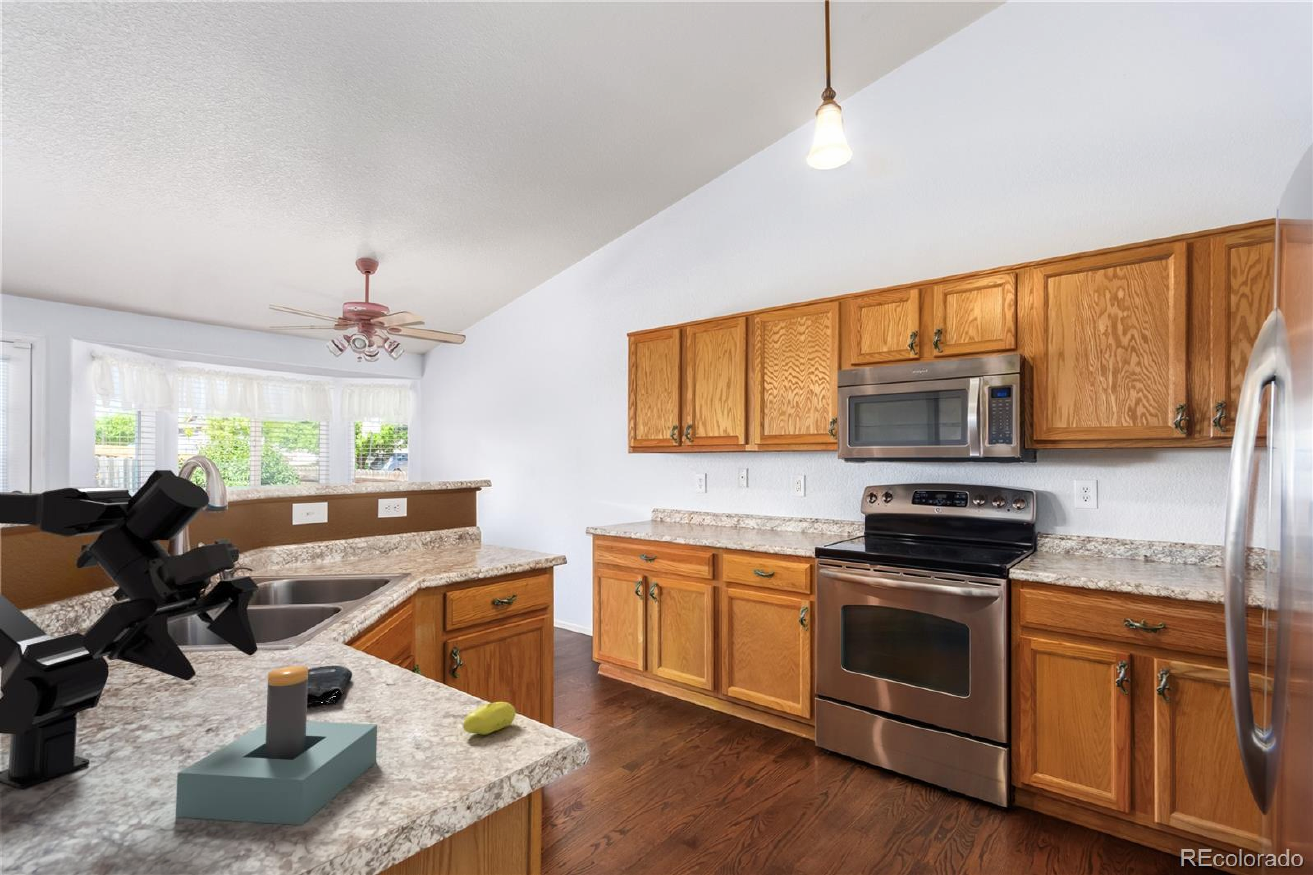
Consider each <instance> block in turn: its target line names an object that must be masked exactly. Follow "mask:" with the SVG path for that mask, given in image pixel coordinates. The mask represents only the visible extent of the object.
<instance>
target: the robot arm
mask: <svg viewBox="0 0 1313 875" xmlns="http://www.w3.org/2000/svg"><path fill="white" fill-rule="evenodd" d="M209 502H210V497H209V495H208V493H207V492H206V490H205V489H204V488H203V487H202V486H200V485H197V484H195V483H194V482H192V481H191V480H189V479H186V478H184V477H181V476H179V475H176V474H175V473H174V472H173V471H172V470H171V469H160V470H159V469H155V470H153V472H152V473H151V474H150V475H149V476H148V478H147V479H146V481H145V483H143V485H142V486H141V487H140V488H139V489H138V490H137V491H136V492H135V493H134V494H133V495H131V494H130V491H129V490H128V489H127V488H125V487H124V486H119V485H118V486H88V487H87V486H85V487H84V486H81V487H80V486H78V487H65V488H58V489H52V490H45V491H43V492H11V491H10V492H9V491H8V492H5V491H0V524H1V525H2V524H5V525H8V524H9V525H30V526H33V527H37V528H38V529H39V530H40V531H41V532H44V533H49V534H51V535H52V534H53V535H57V536H62V537H67V538H69V537H79V536H88V535H95V534H96V535H98V534H99V535H98V536H97V537H96V538H95V539H94V540H93V541H92V543H89V544H83V545H81V548H80V550H81V551H80V554H79V555H78V557H77V559H76V565H75V566H76V568H77V569H79V570H80V569H86V568H91V567H98V566H100V567H101V568H102V570H104V572H105V573H106V574H107V575H108V577H109V578H110V579H111V580H112V581H113V583H114V584H115V585H116V586H117V587H118V588H117V590H115V592H113V594H112V596H113V597H114V599H115V600H116V601H117V602H118V603H112V604H111V605H110V606H109V607H108V608H107V609H106V610H105V611H104V612H103V613H102V615H100V617H99V618H98V619H97V620H96V621H94V623H93V624H92V625H91V626H90V627H89V628H88V629H87V630H86V631H85V632H84V634H82V633H80V632H76V631H75V632H72V633H68V634H65V635H60V636H56V637H53V636H50V635H49V634H47V633H46V632H45V631H44V630H43V629H42V628H41V627H40V626H38V625H37V624H36V623H35V622H34V621H33V620H32V619H30V618H29V617H28V616H27V615H26V614H25V613H23V611H21V610H20V609H19V608H18V607H17V606H16V605H14V604H13V603H12V602H11V601H9V600H8V599H7V598H6V597H5V596H4V595H3V594H1V593H0V669H1V673H0V674H1V676H0V691H1V693H2V696H1V697H0V734H3V735H4V734H7V735H10V738H9V753H8V768H7V769H3V770H1V771H0V781H1V783H4V784H6V785H10V786H13V787H15V788H19V789H25V788H29V787H31V786H35V785H37V784H39V783H42V782H44V781H47V780H50V779H53V778H55V777H59V776H61V775H64V774H66V773H67V774H68V773H69V772H72V771H75V770H78V769H80V768H83V767H87V766H88V765H90V761H91V760H90V759H89V758H86V757H82V756H79V755H76V747H77V746H76V745H77V727H78V726H77V725H78V713H81V712H83V711H86V710H87V711H88V710H89V709H93V708H97V707H98V703H99V701H100V699H101V696H102V693H103V691H104V688H105V686H106V683H107V680H108V677H109V673H110V670H109V664H108V661H107V660H106V659H105V656H106V657H107V659H108V660H109V661H114V660H120V661H124V662H126V663H130V664H134V665H138V666H142V667H145V668H149V669H151V670H154V671H156V672H161V673H163V674H166V675H169V676H171V677H175V678H178V679H180V680H183V681H190V680H192V679H193V678H194V677H195V676H196V674H197V673H196V670H195V669H194V667H193V665H192V663H191V662H190V660H189V659H188V658H187V657H186V655H185V654H184V652H183V650H181V649H180V646H178V644H177V642H176V641H175V640H174V639H173V638H172V636H171V635H170V633H169V629H168V628H169V626H168V625H169V624H168V623H170V622H174V621H177V620H181V619H184V618H185V619H186V618H188V617H191V616H195V615H196V616H197V617H198V618H199V619H200V620H201V621H202V622H204V623H207V624H208V625H207V626H206V630H209V631H210V632H212V633H213V634H214V635H216V636H218V637H219V638H221V639H222V640H223V641H225V642H227V643H228V644H230V645H231V646H232V647H234V648H235V649H237V650H238V651H240V652H242V653H244V654H245V655H247V656H249V657H250V656H253V655H255V653H256V652H257V651H258V646H257V641H256V639H255V636H254V632H253V629H252V626H251V622H250V619H249V614H248V607H249V603H250V601H252V599H254V596H255V595H254V594H255V592H257V590H259V585H257V584H256V583H255V581H254V579H252V578H251V576H244V575H242V576H241V575H239V576H235V577H230V578H227V579H221V580H220V581H218V582H217V583H216V585H215V586H214V587H213V588H212V589H211V590H210V591H209V592H208V593H207V594H205V595H203V596H202V593H201V592H202V590H206V589H207V588H208V587H209V586H210V585H211V584H212V580H211V579H210V578H212V577H214V576H216V575H218V574H220V573H223V572H224V571H230V570H232V569H234V568H235V567H236V565H235V563H236V562H238V561H239V559H240V554H239V553H240V552H239V551H240V550H239V548H238V547H236V546H235V545H234V544H233V543H232V542H230V541H229V540H228V539H226V538H224V539H220V540H219V539H217V540H215V541H214V543H209V544H205V545H202V546H198V547H195V548H192V549H190V550H188V551H185V552H183V553H182V554H175V555H170V553H168V551H167V550H166V549H165V547H164V546H163V545H162V543H160V542H159V541H172V540H174V539H176V538H177V537H178V536H179V535H180V534H181V533H182V532H184V530H185V529H186V528H187V527H188V525H190V524H191V522H192V521H193V520H194V519H195V518H196V517H197V516H198V515H199V514H200V513H201V512H202V511H203V510H204V509H205V508H206V507H207V506H208V504H209ZM124 600H126V601H124Z"/></svg>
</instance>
